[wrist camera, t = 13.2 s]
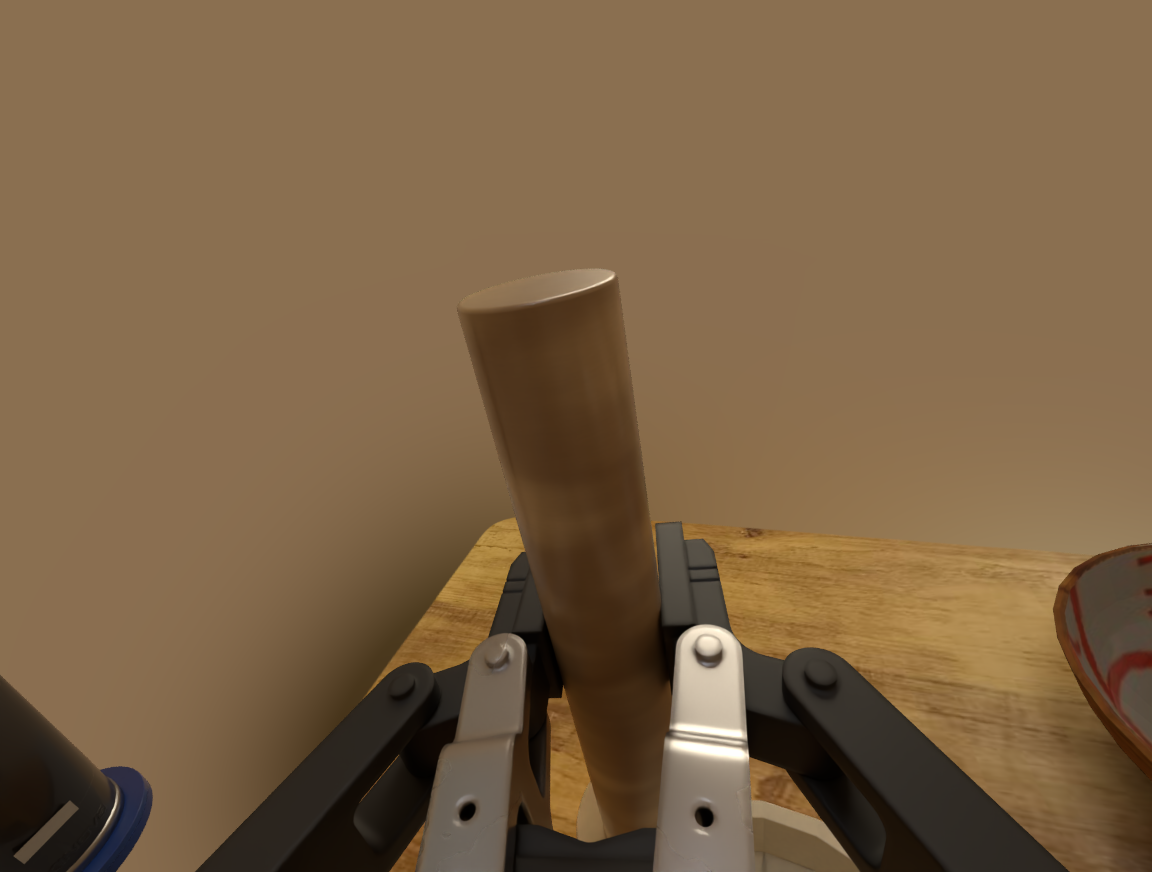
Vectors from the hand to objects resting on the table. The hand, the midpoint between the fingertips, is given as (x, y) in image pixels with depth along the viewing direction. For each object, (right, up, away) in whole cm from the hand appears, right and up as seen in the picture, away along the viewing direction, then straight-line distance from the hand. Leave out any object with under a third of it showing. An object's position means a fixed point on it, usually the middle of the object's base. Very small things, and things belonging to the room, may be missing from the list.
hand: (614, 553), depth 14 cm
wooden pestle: (+1, -10, +2) cm, 10 cm away
